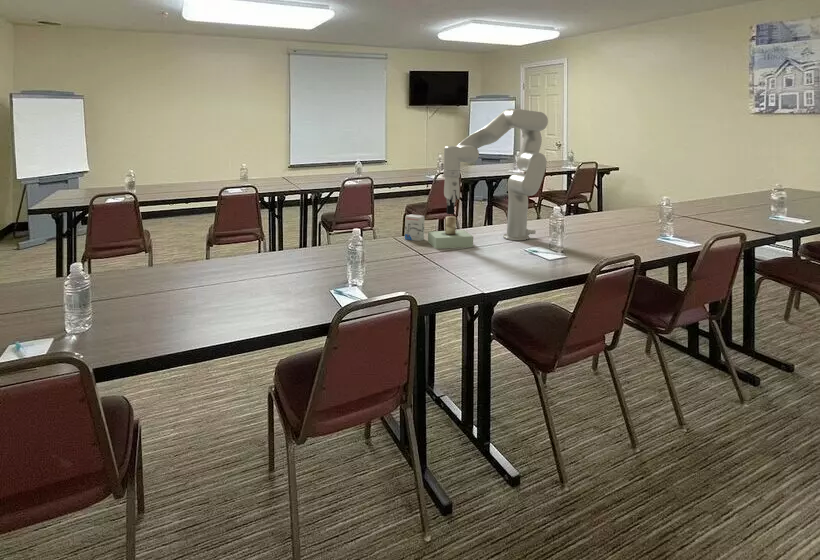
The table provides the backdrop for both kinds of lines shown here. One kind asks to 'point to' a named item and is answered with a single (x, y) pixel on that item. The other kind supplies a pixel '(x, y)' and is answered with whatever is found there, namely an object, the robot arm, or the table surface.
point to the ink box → (414, 227)
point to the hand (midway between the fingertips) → (450, 213)
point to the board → (450, 239)
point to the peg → (450, 225)
